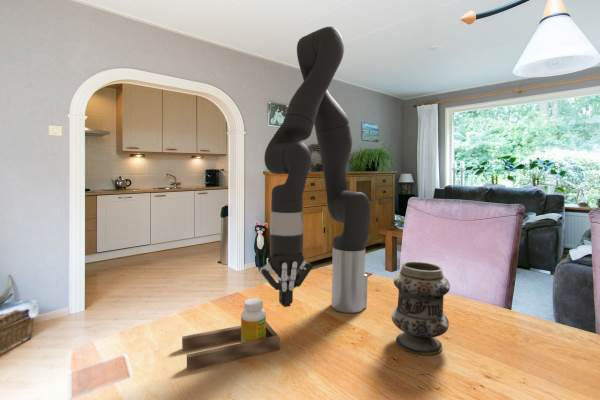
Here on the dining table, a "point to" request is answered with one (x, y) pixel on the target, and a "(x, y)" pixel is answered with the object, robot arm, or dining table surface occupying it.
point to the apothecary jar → (420, 307)
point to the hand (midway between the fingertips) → (285, 305)
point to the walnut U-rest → (226, 352)
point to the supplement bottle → (253, 321)
